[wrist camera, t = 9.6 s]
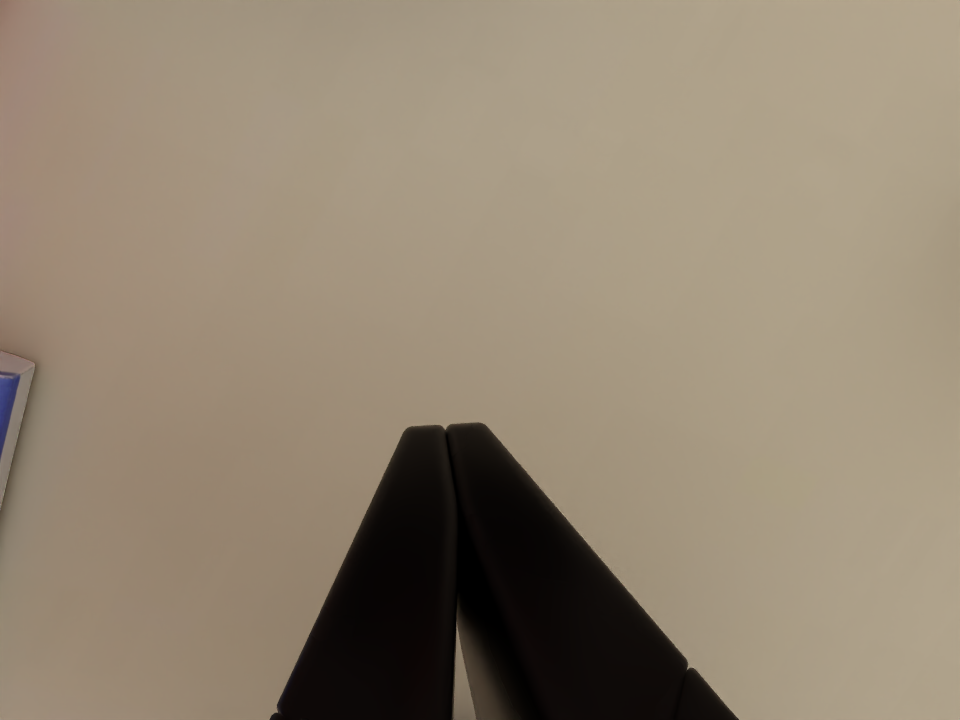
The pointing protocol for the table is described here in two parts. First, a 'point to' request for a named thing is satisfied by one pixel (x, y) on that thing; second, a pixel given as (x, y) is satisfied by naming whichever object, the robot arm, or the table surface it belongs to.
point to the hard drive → (11, 408)
